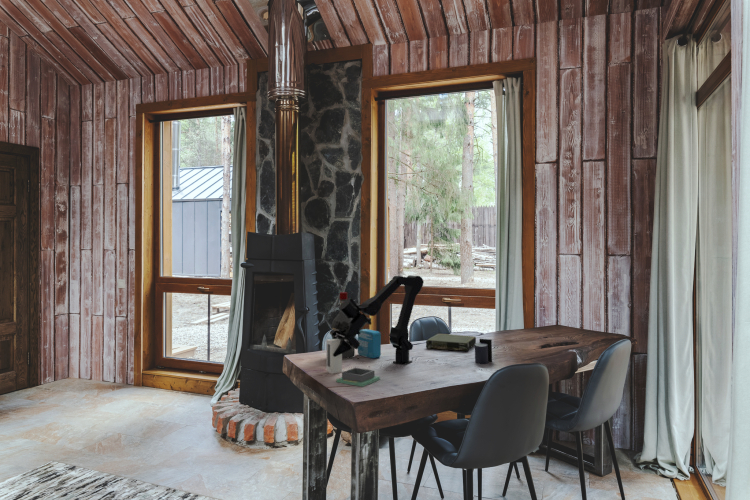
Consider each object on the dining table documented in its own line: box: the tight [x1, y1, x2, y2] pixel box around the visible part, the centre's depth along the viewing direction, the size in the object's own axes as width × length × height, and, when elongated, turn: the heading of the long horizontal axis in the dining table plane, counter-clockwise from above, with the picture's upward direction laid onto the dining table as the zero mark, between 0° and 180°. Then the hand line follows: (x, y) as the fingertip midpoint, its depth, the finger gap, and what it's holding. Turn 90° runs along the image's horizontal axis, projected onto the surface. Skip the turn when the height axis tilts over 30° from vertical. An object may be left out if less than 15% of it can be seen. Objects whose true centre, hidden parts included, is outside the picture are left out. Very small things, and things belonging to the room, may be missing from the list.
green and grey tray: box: [336, 367, 381, 387], centre depth 187 cm, size 12×12×4 cm
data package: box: [357, 328, 382, 359], centre depth 231 cm, size 12×4×12 cm, turn 40°
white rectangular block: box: [325, 338, 343, 375], centre depth 201 cm, size 5×5×13 cm
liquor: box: [331, 291, 356, 360], centre depth 229 cm, size 9×9×30 cm
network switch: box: [425, 333, 477, 353], centre depth 253 cm, size 23×23×5 cm
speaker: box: [474, 338, 493, 365], centre depth 218 cm, size 8×6×10 cm
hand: (331, 354), depth 200 cm, fingers open, 5 cm apart
